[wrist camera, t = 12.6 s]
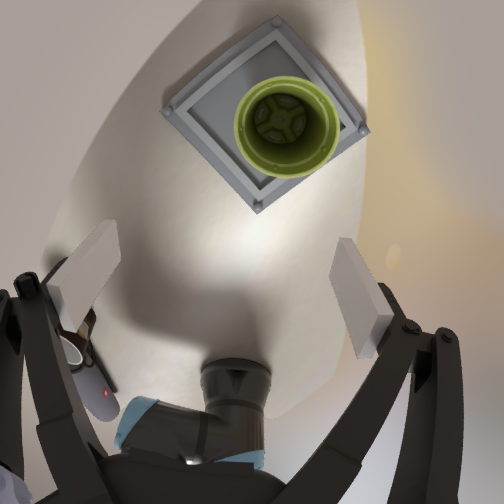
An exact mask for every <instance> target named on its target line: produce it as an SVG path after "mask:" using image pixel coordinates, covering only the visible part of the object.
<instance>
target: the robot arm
mask: <svg viewBox="0 0 504 504" xmlns="http://www.w3.org/2000/svg"><path fill="white" fill-rule="evenodd" d="M120 261H121V253H120V246H119V239H118V231H117V223H116V219H105V220H104V221H103V222H102V223H101V224H100V225H99V226H98V227H97V228H96V229H95V230H94V231H93V232H92V233H91V234H90V235H89V236H88V237H87V238H86V239H85V240H84V241H83V242H82V243H81V245H80V246H79V247H78V248H77V249H76V250H75V251H74V252H73V253H72V254H71V256H70V257H66V258H64V259H63V260H61V261H59V262H58V263H57V265H56V266H55V267H54V269H52V270H51V271H50V273H49V274H48V275H47V276H46V277H45V278H44V280H43V281H42V282H41V283H39V280H38V277H37V275H36V273H34V272H25V273H23V274H21V275H19V276H18V277H17V278H16V279H15V280H14V283H13V284H14V287H15V289H16V292H17V295H18V297H12V298H10V296H9V293H8V291H7V290H5V289H1V290H0V504H31V502H32V500H33V497H32V494H31V493H30V491H29V490H28V488H27V485H26V484H25V482H24V458H23V447H22V427H21V395H22V376H23V363H24V354H25V360H26V366H27V371H28V377H29V382H30V386H31V390H32V395H33V399H34V403H35V407H36V411H37V415H38V418H39V425H37V426H36V430H37V435H38V438H39V441H40V444H41V447H42V450H43V453H44V456H45V458H46V461H47V464H48V466H49V469H50V471H51V474H52V476H53V479H54V481H55V483H56V485H57V488H58V490H56V491H54V492H53V493H51V494H50V495H48V496H46V497H45V498H43V499H42V500H40V501H38V502H37V503H35V504H337V503H338V502H339V501H340V499H341V498H342V497H343V495H344V494H345V492H346V491H347V489H348V488H349V487H350V485H351V484H352V482H353V481H354V479H355V478H356V476H357V475H358V473H359V471H360V469H361V467H362V464H361V463H362V460H363V459H364V457H365V455H366V454H367V452H368V450H369V449H370V447H371V445H372V444H373V442H374V440H375V438H376V436H377V435H378V433H379V431H380V429H381V427H382V425H383V424H384V422H385V420H386V418H387V416H388V414H389V412H390V410H391V408H392V406H393V404H394V401H395V400H396V397H397V395H398V393H399V391H400V389H401V387H402V384H403V382H404V380H405V377H406V375H407V373H411V384H410V394H409V402H408V410H407V416H406V423H405V429H404V434H403V440H402V445H401V450H400V455H399V459H398V464H397V468H396V472H395V476H394V480H393V483H392V487H391V491H390V494H389V497H388V501H387V504H459V503H458V496H457V494H458V488H459V481H460V472H461V464H462V450H463V430H464V403H463V380H462V367H461V359H460V358H461V357H460V348H459V341H458V337H457V336H456V335H455V333H454V332H453V331H452V330H450V329H448V328H444V327H441V328H438V330H437V331H436V332H435V334H430V333H425V332H422V330H421V327H420V326H419V325H418V324H417V323H416V322H414V321H413V320H410V319H407V318H406V316H405V315H404V313H403V311H402V309H401V308H400V306H399V304H398V302H397V300H396V299H395V297H394V295H393V294H392V292H391V290H390V289H389V288H388V287H387V286H386V285H385V284H384V283H377V282H376V280H375V278H374V276H373V275H372V273H371V271H370V269H369V268H368V266H367V264H366V263H365V261H364V259H363V257H362V256H361V254H360V252H359V251H358V249H357V247H356V246H355V244H354V242H353V241H352V239H350V238H341V237H339V241H338V245H337V248H336V252H335V256H334V260H333V263H332V267H331V271H330V274H329V278H330V281H331V284H332V286H333V289H334V292H335V295H336V297H337V300H338V303H339V306H340V309H341V312H342V315H343V317H344V320H345V323H346V326H347V329H348V332H349V335H350V338H351V341H352V344H353V348H354V350H355V354H356V357H357V359H363V358H372V356H373V354H374V353H375V351H376V350H377V352H378V355H379V357H378V358H377V360H376V362H375V364H374V365H373V367H372V368H371V370H370V372H369V374H368V375H367V377H366V379H365V381H364V382H363V384H362V385H361V387H360V389H359V390H358V392H357V393H356V395H355V396H354V398H353V399H352V401H351V403H350V404H349V406H348V407H347V409H346V410H345V411H344V413H343V414H342V416H341V417H340V419H339V420H338V421H337V423H336V424H335V426H334V427H333V428H332V430H331V431H330V433H329V434H328V435H327V437H326V438H325V439H324V440H323V442H322V443H321V444H320V446H319V447H318V448H317V449H316V451H315V452H314V453H313V455H312V456H311V457H310V458H309V459H308V461H307V462H306V463H305V464H304V465H303V467H302V468H301V469H300V470H299V471H298V472H297V473H296V475H295V476H294V477H293V478H292V479H291V480H290V481H289V482H288V483H287V484H285V483H283V482H282V481H281V480H280V479H278V478H276V477H275V476H273V475H271V474H269V473H267V472H264V471H261V470H262V469H263V465H264V454H265V450H264V419H263V418H264V414H263V409H264V406H265V403H266V399H267V396H268V394H269V392H270V390H271V375H270V373H269V371H268V370H267V369H266V368H265V367H263V366H262V365H260V364H258V363H255V362H252V361H248V360H243V359H223V360H218V361H215V362H212V363H210V364H208V365H207V366H206V367H205V368H204V369H203V371H202V374H201V380H200V384H201V388H202V390H203V396H204V401H205V405H206V408H205V412H202V411H198V410H194V409H189V408H185V407H181V406H177V405H173V404H170V403H166V402H163V401H160V400H159V399H156V400H155V399H151V398H147V397H143V396H137V397H135V398H133V399H132V400H131V401H130V403H129V404H128V406H127V408H126V410H125V412H124V414H123V416H122V418H121V421H120V423H119V426H118V429H117V430H118V432H117V434H116V437H115V443H114V444H115V446H116V447H117V448H118V449H119V450H122V451H121V454H116V455H112V456H108V454H107V452H106V451H105V450H104V448H103V447H102V445H101V443H100V441H99V439H98V437H97V435H96V433H95V431H94V429H93V427H92V424H91V422H90V420H89V418H88V415H87V413H86V411H85V408H84V406H83V403H82V401H81V398H80V396H79V393H78V390H77V388H76V385H75V382H74V379H73V377H72V374H71V371H70V368H69V365H68V362H67V358H66V355H65V352H64V348H63V345H62V341H61V338H60V334H59V331H58V329H57V325H58V323H59V322H61V325H62V327H63V329H64V330H66V331H70V332H75V333H76V332H77V330H78V328H79V327H80V325H81V323H82V321H83V320H84V318H85V316H86V315H87V313H88V311H89V310H90V308H91V306H92V305H93V303H94V301H95V300H96V298H97V296H98V295H99V293H100V291H101V290H102V288H103V287H104V285H105V284H106V282H107V280H108V279H109V277H110V276H111V274H112V273H113V271H114V270H115V268H116V267H117V265H118V264H119V262H120Z"/></svg>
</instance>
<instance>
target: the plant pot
mask: <svg viewBox="0 0 504 504" xmlns="http://www.w3.org/2000/svg"><path fill="white" fill-rule="evenodd" d="M282 98H283V99H289V100H290V101H292V103H291V104H290V103H288V102H285V101H281V100H280V99H282ZM262 108H263V109H264V111H263V113H262V118H261V119H259V117H258V115H259V113H260V110H261V109H262ZM280 117H281V118H283V121H282V122H281V121H279V118H280ZM300 120H302V127H301V129H300V130H297V128H298V126H299V123H300ZM234 135H235V140H236V143H237V146H238V148H239V150H240V152H241V153H242V155H243V156H244V158H245V159H246V160H247V161H248V162H249V163H250V164H251V165H252V166H253V167H254V168H256V169H257V170H259V171H261V172H262V173H265V174H267V175H270V176H273V177H278V178H297V177H302V176H305V175H307V174H310V173H312V172H314V171H316V170H317V169H319V168H320V167H322V166H323V165H324V164H325V163H326V162H327V161H328V160H329V158H330V157H331V156H332V154H333V153H334V151H335V149H336V147H337V144H338V140H339V135H340V122H339V116H338V112H337V110H336V107H335V105H334V103H333V102H332V100H331V99H330V97H329V96H328V95H327V94H326V93H325V92H324V91H323V90H322V89H321V88H320V87H318V86H317V85H316V84H314V83H312V82H310V81H308V80H305V79H302V78H299V77H294V76H277V77H273V78H269V79H266V80H264V81H262V82H260V83H258V84H256V85H255V86H253V87H252V88H251V89H250V90H249V91H248V92H247V93H246V94H245V95H244V96H243V98H242V99H241V101H240V103H239V105H238V107H237V109H236V113H235V117H234ZM270 135H272V136H274V137H278V138H281V140H275V139H272V138H271V137H270Z"/></svg>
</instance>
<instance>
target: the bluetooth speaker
mask: <svg viewBox="0 0 504 504" xmlns="http://www.w3.org/2000/svg"><path fill="white" fill-rule="evenodd" d="M83 359H84V361H85V363H86V364H87V365H91V364H92V361H93V360H92V359H91V357H90V356H89V355H88V353H87V352H86V351H85V354H84V357H83ZM68 365H69V368H70V371H71V374H72V377H73V379H74V382H75V385H76V388H77V390H78V393H79V396H80V398H81V401H82V403H83V405H84V406H85V407H86V408H87V409H88V410H89V411H90V412H91V413H92V414H93V415H94V416H95V417H96V418H97V419H99V420H100V421H103V422H109V421H112V420H113V419H115V418H116V417H117V416H118V414H119V412H120V406H119V404H118V401H117V399H116V397H115V396H114V394H113V392H112V391H111V389H110V387H109V386H108V384H107V381H106V379H105V377H104V375H103V374H102V372H101V370H100V369H99V367H98V366H97V364H96V363H95V365H94V366H93V367H92V368H87V367H85V366H84V365H83V364H82V363H80V364H77V365H75V364H70V363H68Z"/></svg>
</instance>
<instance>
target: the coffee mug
mask: <svg viewBox="0 0 504 504" xmlns="http://www.w3.org/2000/svg"><path fill="white" fill-rule="evenodd" d="M95 322H96V315H95V313H94V311H93V310H92V309H91V308H90V310H89V311H88V313H87V315H86V316H85V318H84V320H83V321H82V323H81V325H80V327H79V328H78V330H77V332H76V333H75V332H70V331H66V330H64V329H63V327H62V325H61V322H59V323H58V325H57V329H58V331H59V334H60V338H61V341H62V345H63V348H64V352H65V355H66V358H67V362H68V363H70V364H75V365H77V364H80V363H82V364H83V365H84V366H85V367H87V368H92V367H93V366H94V365H95V354H94V350H93V346H92V343H91V340H90V336H91V333H92V330H93V327H94V324H95ZM88 343H89V346H90V349H91V352H92V358H93V361H92V364H91V365H87V364H86V363H85V361H84V359H83V357H84V354H85V351H86V348H87V345H88Z"/></svg>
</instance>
